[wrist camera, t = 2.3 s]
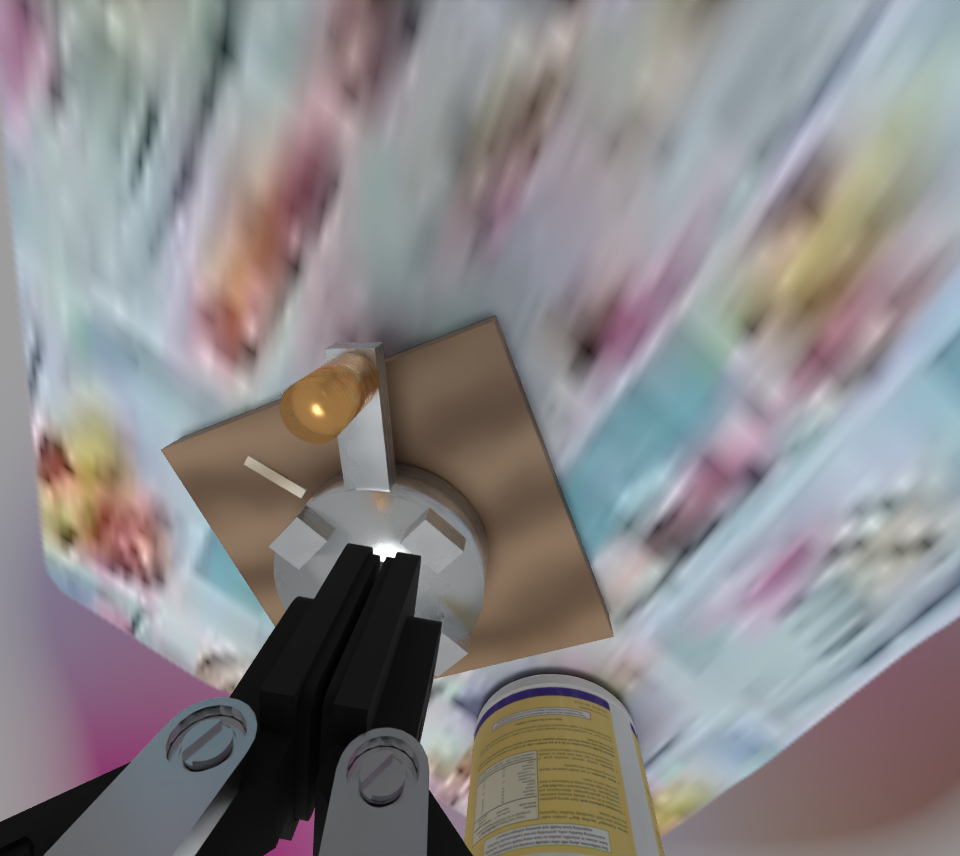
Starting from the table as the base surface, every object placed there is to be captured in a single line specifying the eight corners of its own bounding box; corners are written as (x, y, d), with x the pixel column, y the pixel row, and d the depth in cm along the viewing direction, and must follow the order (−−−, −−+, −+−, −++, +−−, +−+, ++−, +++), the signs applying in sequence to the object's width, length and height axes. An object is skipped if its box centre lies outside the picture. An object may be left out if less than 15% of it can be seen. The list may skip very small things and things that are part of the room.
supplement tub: (444, 720, 40) (392, 1035, 24) (553, 637, 36) (574, 948, 20) (555, 799, 42) (572, 1135, 26) (668, 729, 38) (768, 1073, 22)
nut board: (181, 437, 33) (158, 451, 31) (495, 315, 28) (493, 321, 26) (334, 682, 39) (324, 706, 37) (608, 615, 35) (614, 638, 33)
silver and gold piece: (490, 628, 33) (479, 749, 25) (315, 621, 34) (252, 735, 26) (482, 333, 26) (463, 375, 18) (263, 336, 27) (158, 376, 20)
